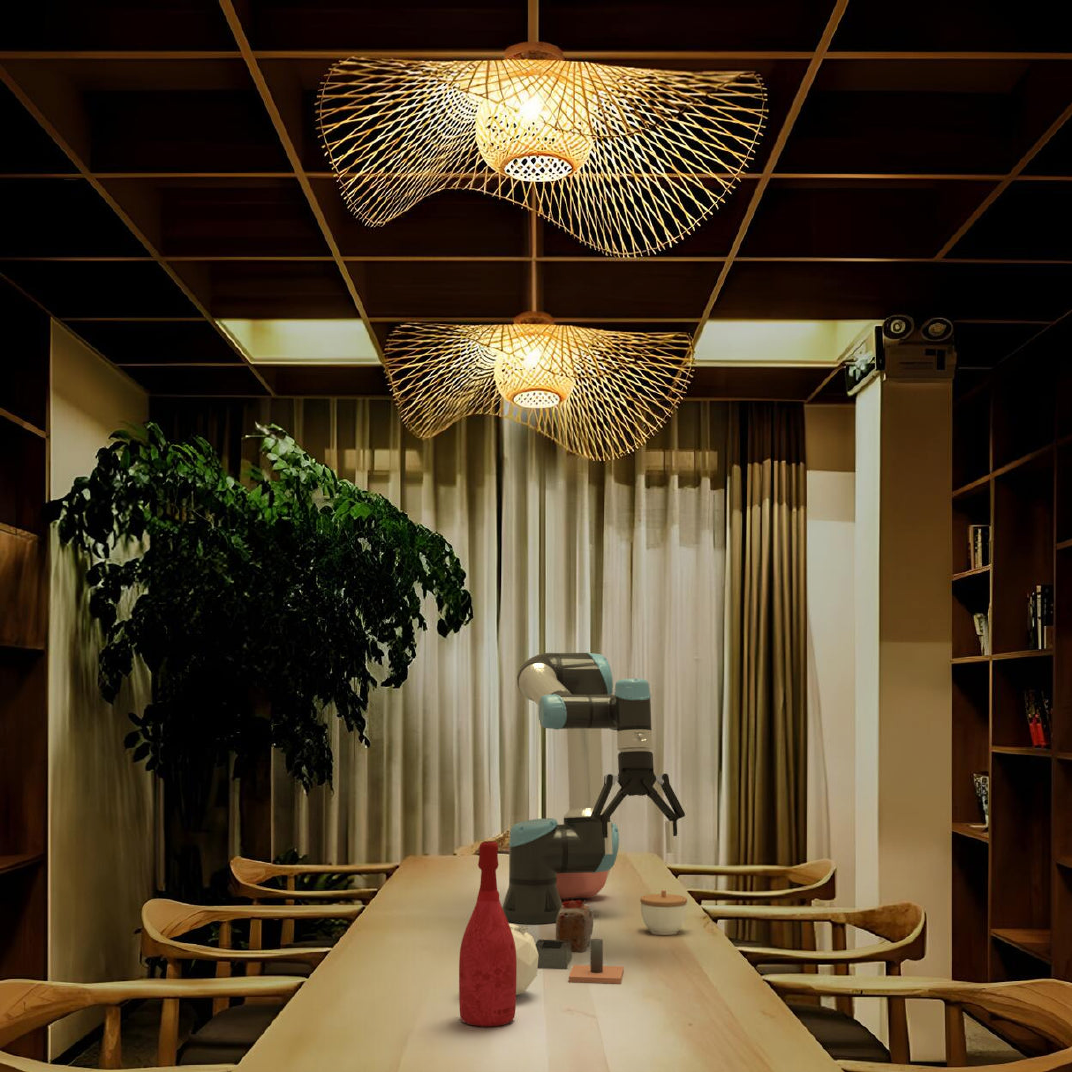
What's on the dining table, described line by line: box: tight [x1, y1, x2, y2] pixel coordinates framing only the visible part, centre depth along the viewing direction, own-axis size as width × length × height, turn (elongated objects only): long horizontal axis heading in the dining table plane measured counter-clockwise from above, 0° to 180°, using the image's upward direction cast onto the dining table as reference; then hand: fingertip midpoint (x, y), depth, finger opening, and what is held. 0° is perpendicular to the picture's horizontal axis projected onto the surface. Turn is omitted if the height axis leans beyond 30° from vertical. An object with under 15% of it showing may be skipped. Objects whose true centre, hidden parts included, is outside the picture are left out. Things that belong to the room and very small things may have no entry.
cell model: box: [557, 869, 611, 901], centre depth 331 cm, size 17×20×11 cm
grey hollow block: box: [535, 938, 573, 969], centre depth 257 cm, size 10×7×4 cm
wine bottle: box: [458, 840, 517, 1028], centre depth 215 cm, size 10×10×30 cm
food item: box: [555, 899, 594, 953], centre depth 274 cm, size 14×8×10 cm, turn 175°
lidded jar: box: [639, 889, 688, 936], centre depth 288 cm, size 11×11×9 cm
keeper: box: [568, 938, 625, 985], centre depth 245 cm, size 10×10×7 cm
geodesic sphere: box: [509, 923, 538, 996], centre depth 231 cm, size 14×14×14 cm
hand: (639, 853), depth 263 cm, fingers open, 13 cm apart
